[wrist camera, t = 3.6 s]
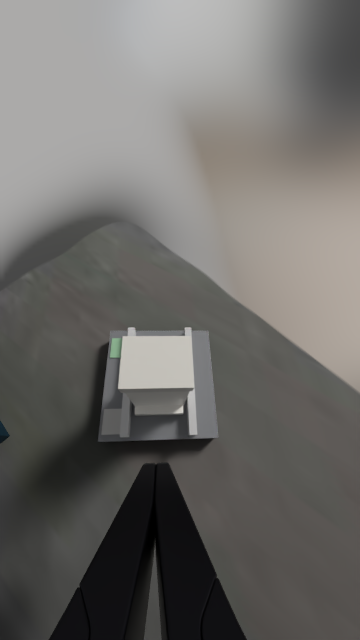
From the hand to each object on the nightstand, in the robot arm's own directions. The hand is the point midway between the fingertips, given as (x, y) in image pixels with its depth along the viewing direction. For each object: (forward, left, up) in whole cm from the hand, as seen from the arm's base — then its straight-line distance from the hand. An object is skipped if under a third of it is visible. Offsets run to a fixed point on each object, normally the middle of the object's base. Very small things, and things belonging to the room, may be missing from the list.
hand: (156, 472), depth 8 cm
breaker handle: (+4, 0, -8) cm, 9 cm away
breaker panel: (+5, 0, -10) cm, 11 cm away
